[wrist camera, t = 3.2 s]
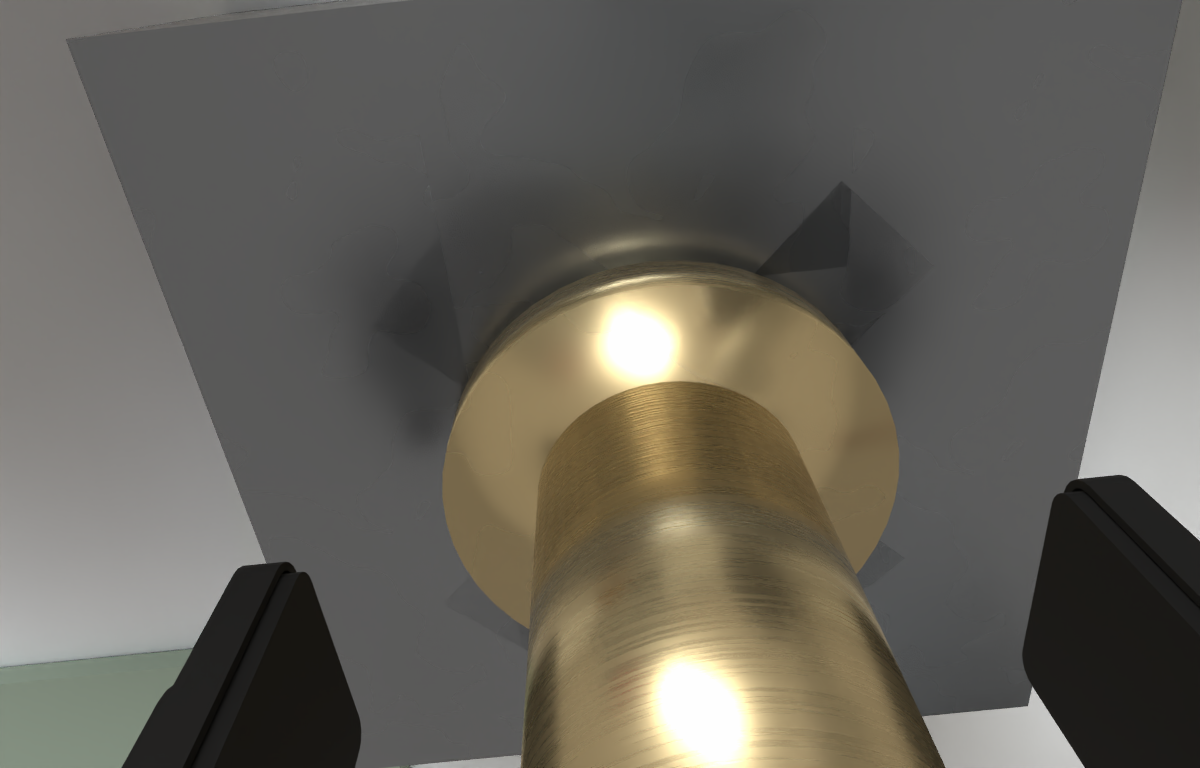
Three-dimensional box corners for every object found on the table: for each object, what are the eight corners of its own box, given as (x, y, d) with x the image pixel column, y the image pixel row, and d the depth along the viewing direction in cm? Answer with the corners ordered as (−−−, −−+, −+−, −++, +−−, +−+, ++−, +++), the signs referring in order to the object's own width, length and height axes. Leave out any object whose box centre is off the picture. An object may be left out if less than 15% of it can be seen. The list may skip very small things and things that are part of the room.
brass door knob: (796, 154, 16) (1284, 575, 5) (792, 442, 19) (1085, 1082, 8) (456, 190, 16) (217, 680, 5) (509, 471, 19) (429, 1138, 8)
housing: (1004, -75, 14) (1202, -91, 10) (930, 546, 21) (1027, 705, 16) (221, 14, 14) (65, 39, 10) (393, 599, 21) (346, 771, 17)
